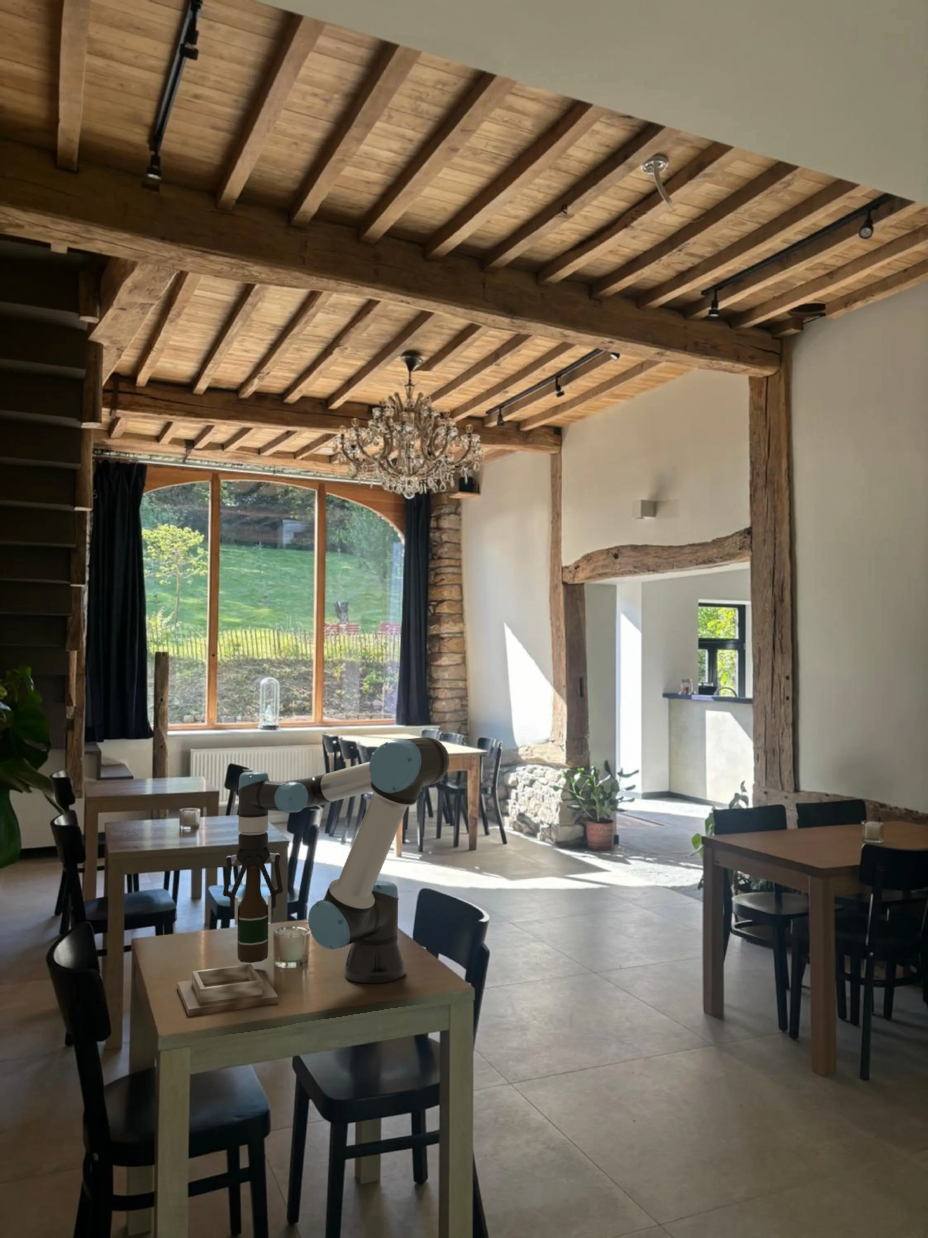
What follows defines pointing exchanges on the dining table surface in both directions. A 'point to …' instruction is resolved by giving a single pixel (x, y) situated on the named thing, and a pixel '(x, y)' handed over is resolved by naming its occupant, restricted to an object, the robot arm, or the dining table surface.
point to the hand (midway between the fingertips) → (252, 922)
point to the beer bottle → (252, 921)
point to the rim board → (225, 990)
